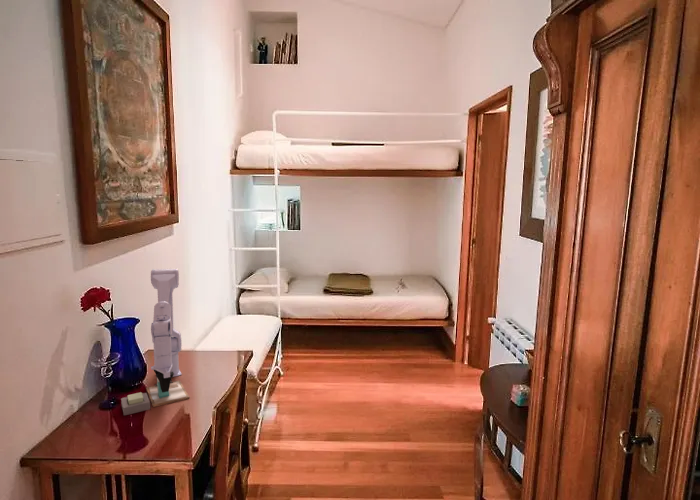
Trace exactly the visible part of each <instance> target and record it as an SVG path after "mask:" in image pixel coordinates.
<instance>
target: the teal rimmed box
mask: <svg viewBox="0 0 700 500" xmlns="http://www.w3.org/2000/svg"><path fill="white" fill-rule="evenodd" d="M156 384H157V387H158V396H159V398H162V397H167V396H169V391H168V392H163V393H162V390H161V386H160V382H159V380H158V378H157V377H156Z"/></svg>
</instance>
